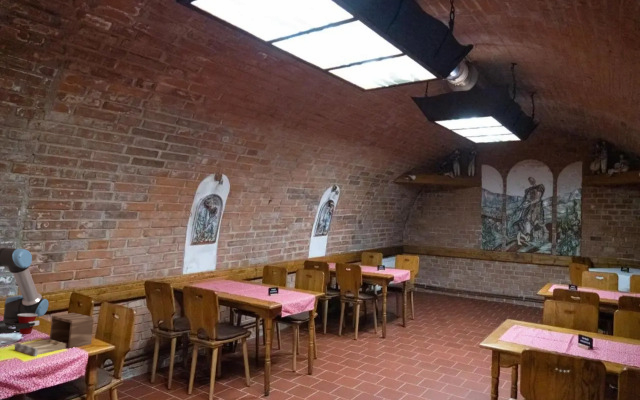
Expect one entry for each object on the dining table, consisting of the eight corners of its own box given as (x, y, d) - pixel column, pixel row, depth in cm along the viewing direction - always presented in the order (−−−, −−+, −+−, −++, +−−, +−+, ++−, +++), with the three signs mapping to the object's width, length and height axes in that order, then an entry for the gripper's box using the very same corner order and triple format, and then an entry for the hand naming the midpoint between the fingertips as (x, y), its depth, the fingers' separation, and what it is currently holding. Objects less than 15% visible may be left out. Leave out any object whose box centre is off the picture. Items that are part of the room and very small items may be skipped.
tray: (14, 350, 264) (15, 343, 264) (47, 343, 282) (47, 336, 282) (34, 356, 255) (35, 349, 256) (67, 349, 273) (68, 342, 273)
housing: (49, 343, 283) (52, 315, 284) (71, 339, 296) (73, 312, 297) (69, 349, 274) (72, 320, 275) (91, 344, 287) (93, 317, 288)
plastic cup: (40, 332, 287) (41, 313, 288) (27, 336, 277) (29, 316, 277) (24, 330, 288) (26, 311, 289) (11, 334, 278) (12, 314, 278)
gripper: (-16, 331, 272) (23, 324, 292) (5, 337, 262) (44, 330, 282) (-15, 318, 272) (24, 312, 292) (6, 324, 262) (45, 318, 282)
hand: (34, 321), depth 287 cm, fingers closed on plastic cup, 9 cm apart
